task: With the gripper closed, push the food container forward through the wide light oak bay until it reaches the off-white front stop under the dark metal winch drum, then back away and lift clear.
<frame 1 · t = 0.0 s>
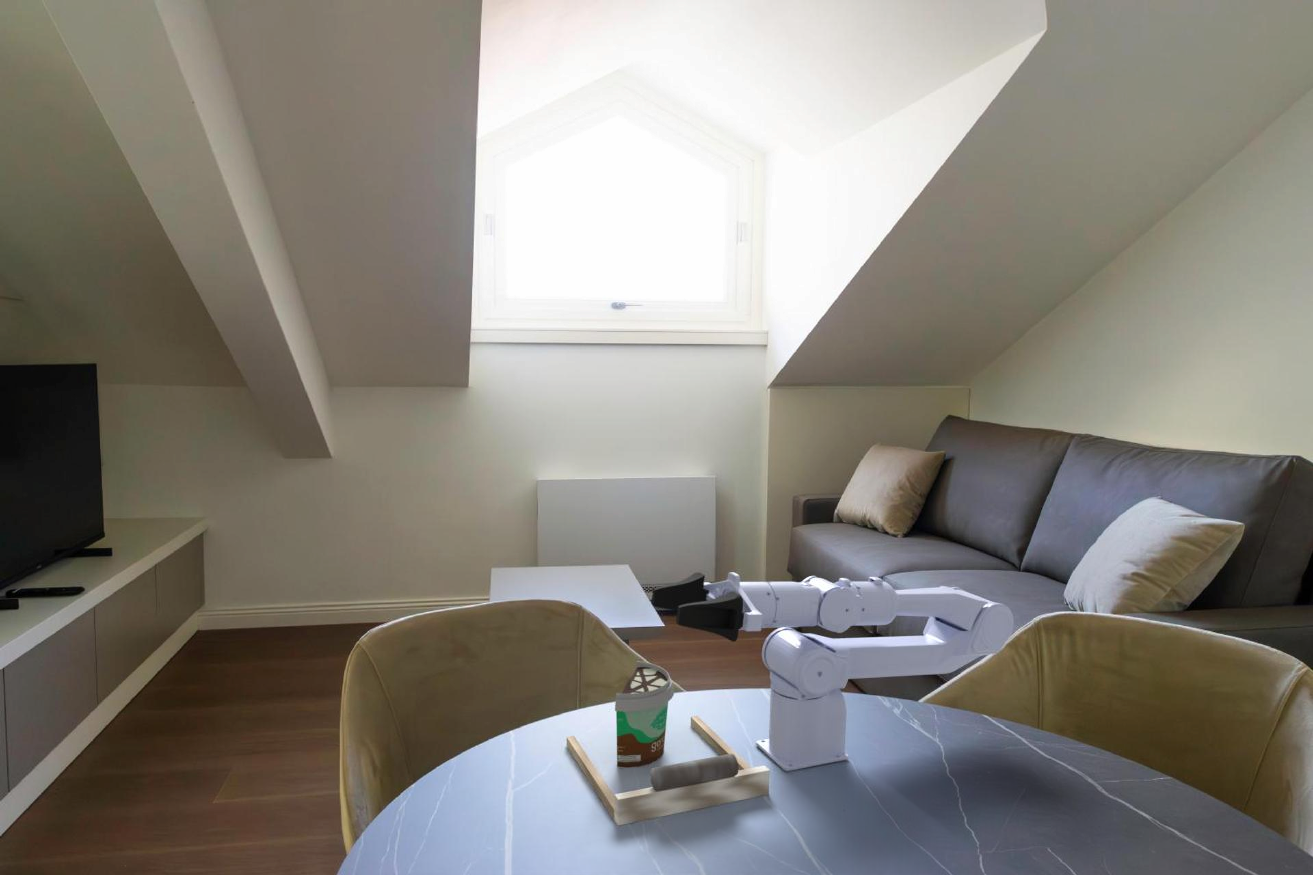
hand: (665, 606, 101), 22 cm above the table, tool horizontal, fingers open, 7 cm apart
food container: (648, 753, 110), on the table
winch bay: (660, 766, 107), on the table
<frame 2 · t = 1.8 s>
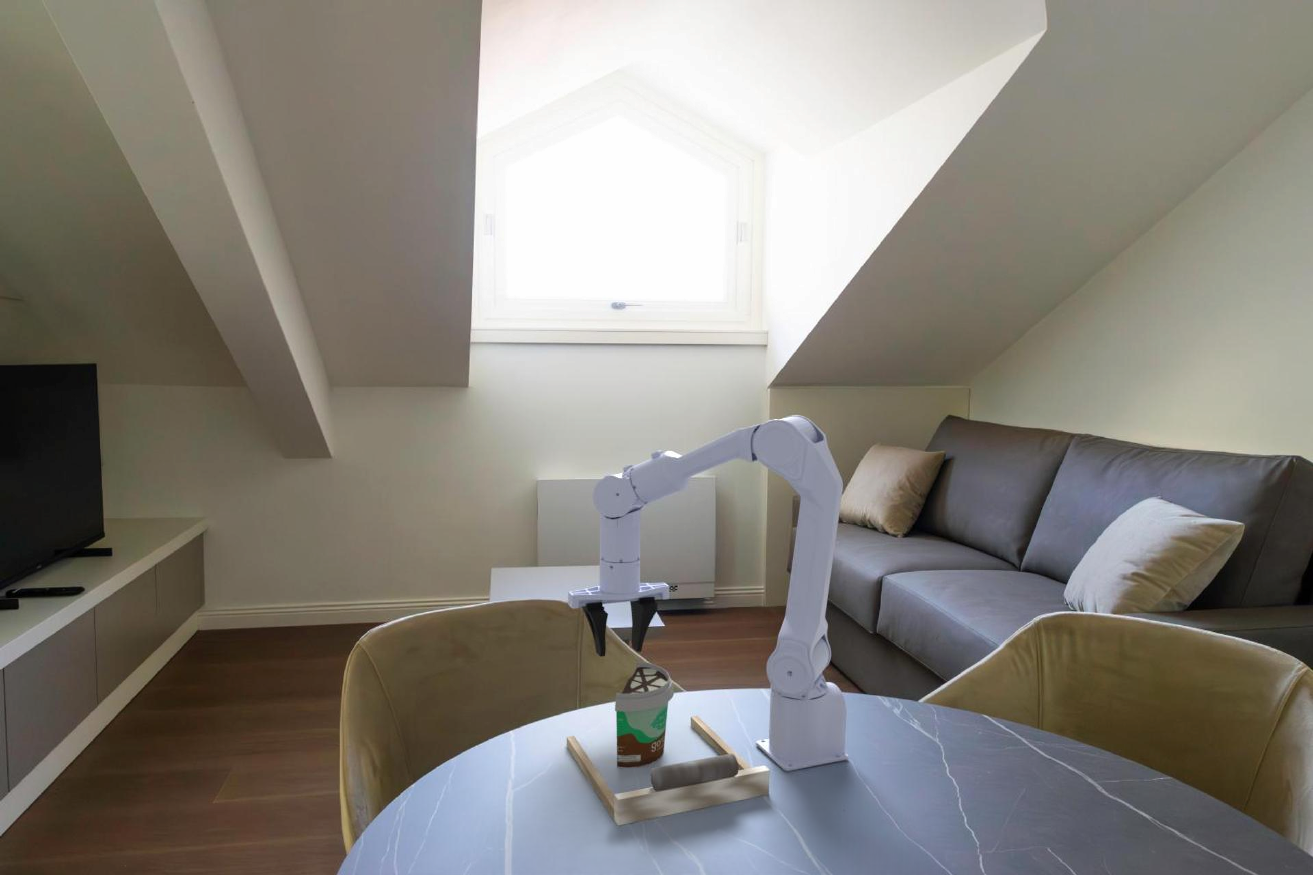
hand: (618, 651, 120), 9 cm above the table, tool pointing down, fingers open, 5 cm apart
nothing on the table moved.
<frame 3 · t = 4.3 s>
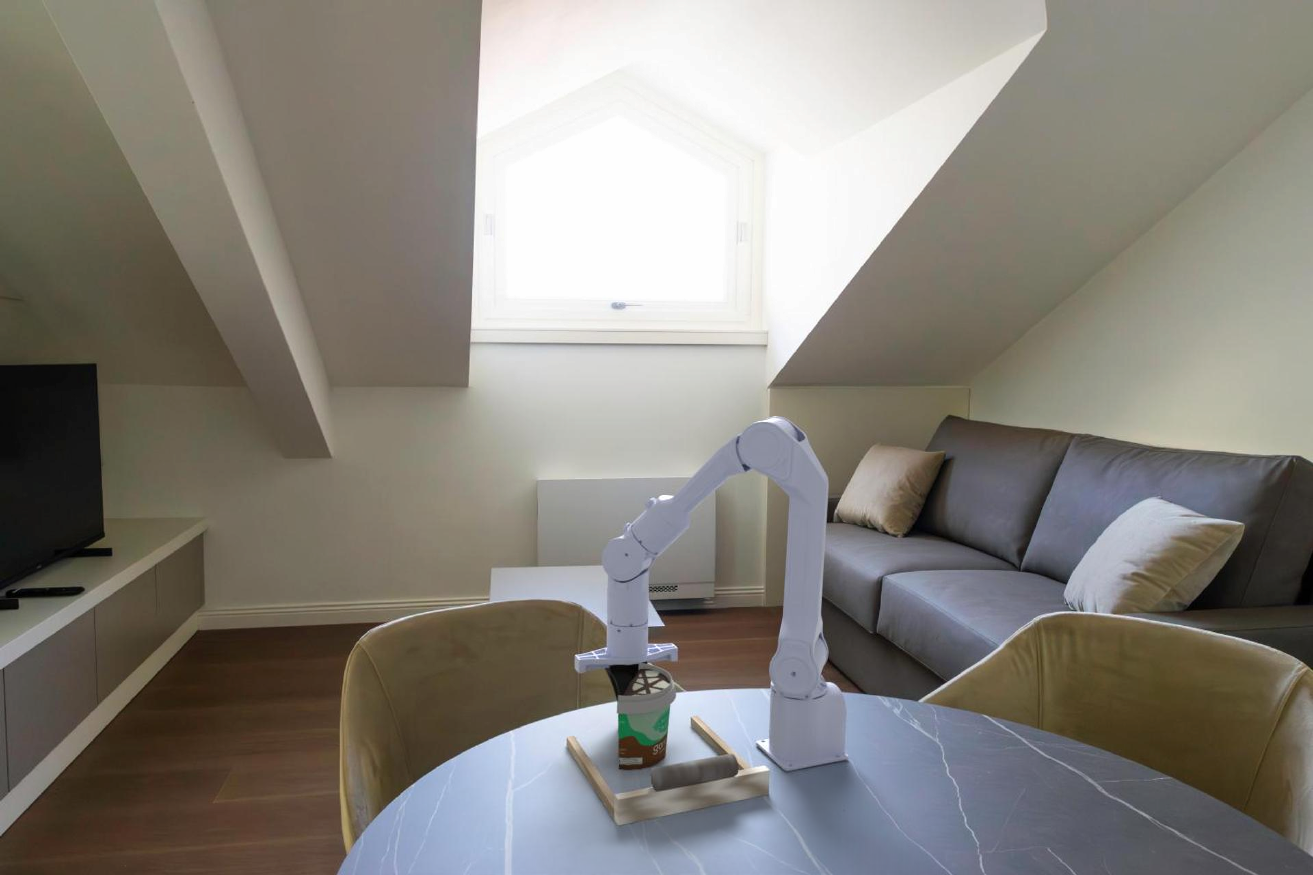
hand: (626, 714, 118), 1 cm above the table, tool pointing down, fingers closed
food container: (650, 756, 109), on the table, touching gripper
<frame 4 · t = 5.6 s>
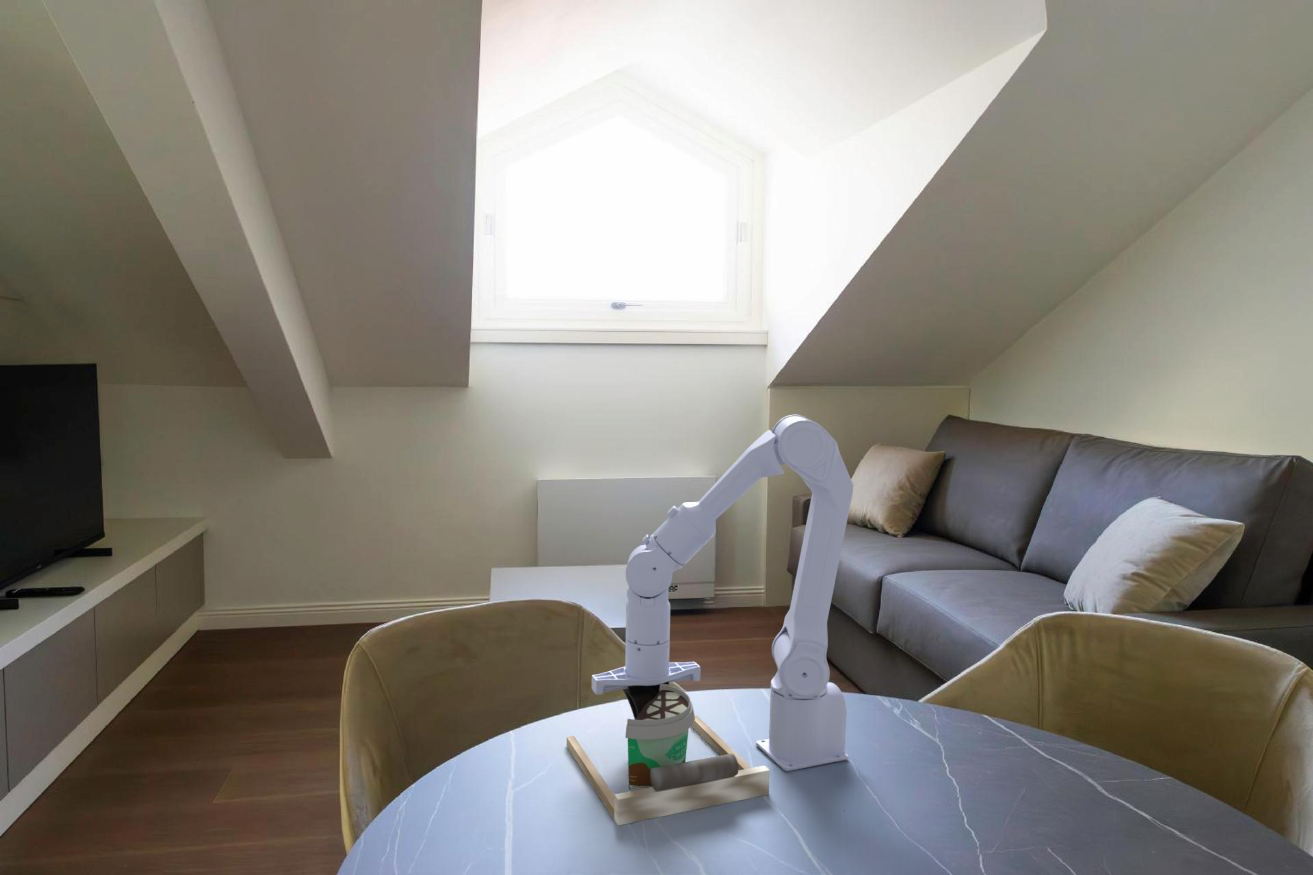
hand: (645, 738, 111), 1 cm above the table, tool pointing down, fingers closed
food container: (666, 784, 102), on the table, touching gripper
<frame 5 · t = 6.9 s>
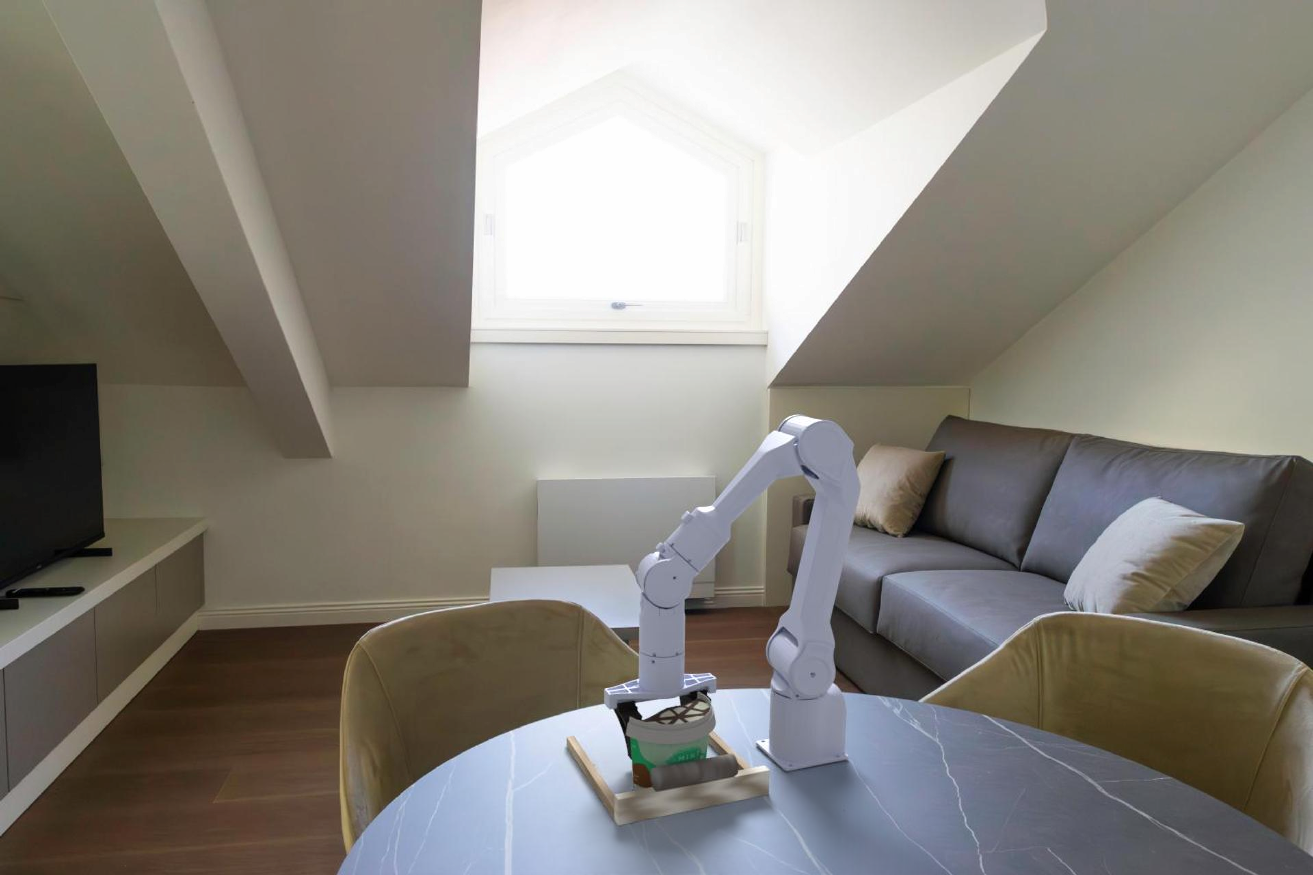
hand: (660, 753, 107), 1 cm above the table, tool pointing down, fingers open, 7 cm apart
food container: (680, 794, 100), on the table, touching gripper, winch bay
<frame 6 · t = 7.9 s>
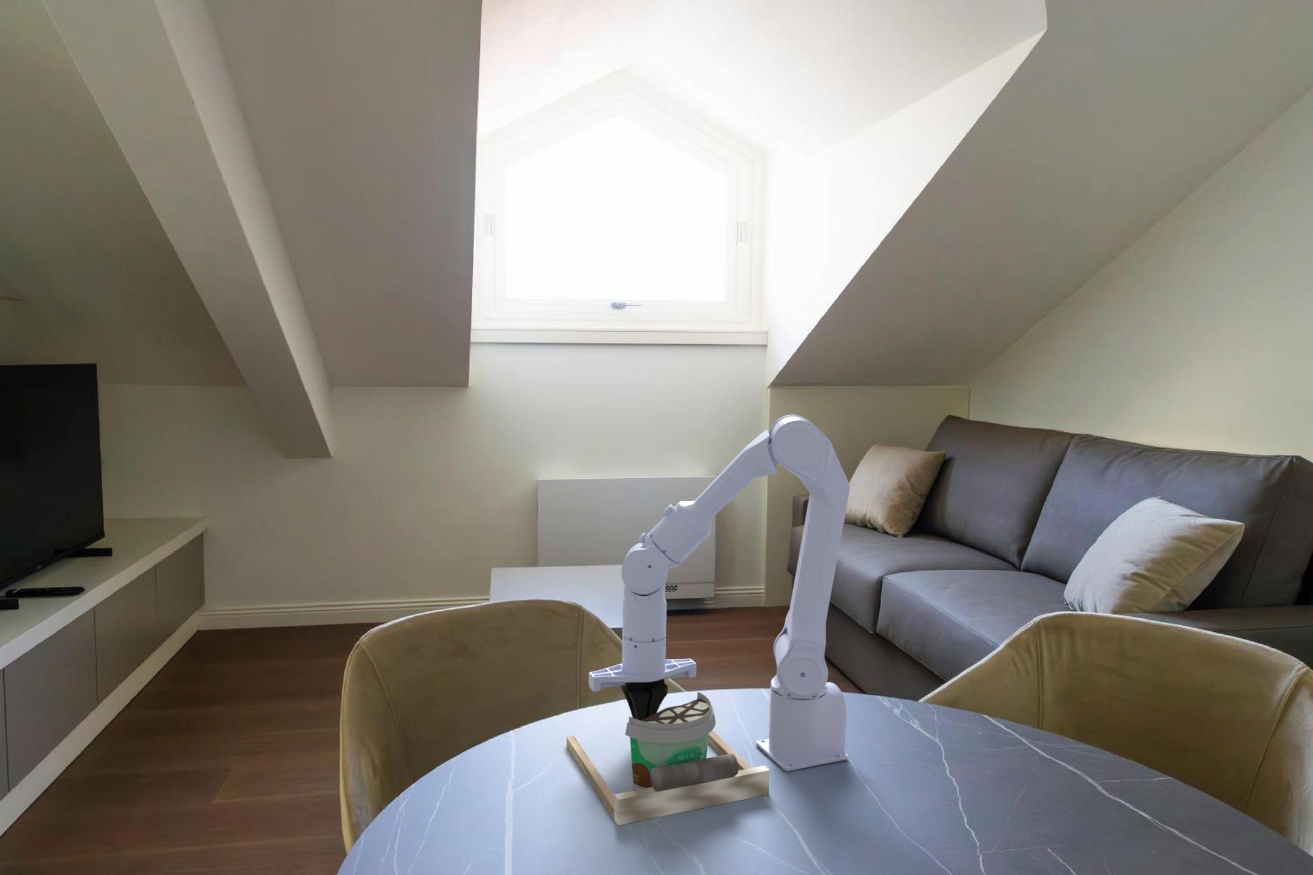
hand: (642, 734, 112), 1 cm above the table, tool pointing down, fingers closed
food container: (680, 794, 100), on the table
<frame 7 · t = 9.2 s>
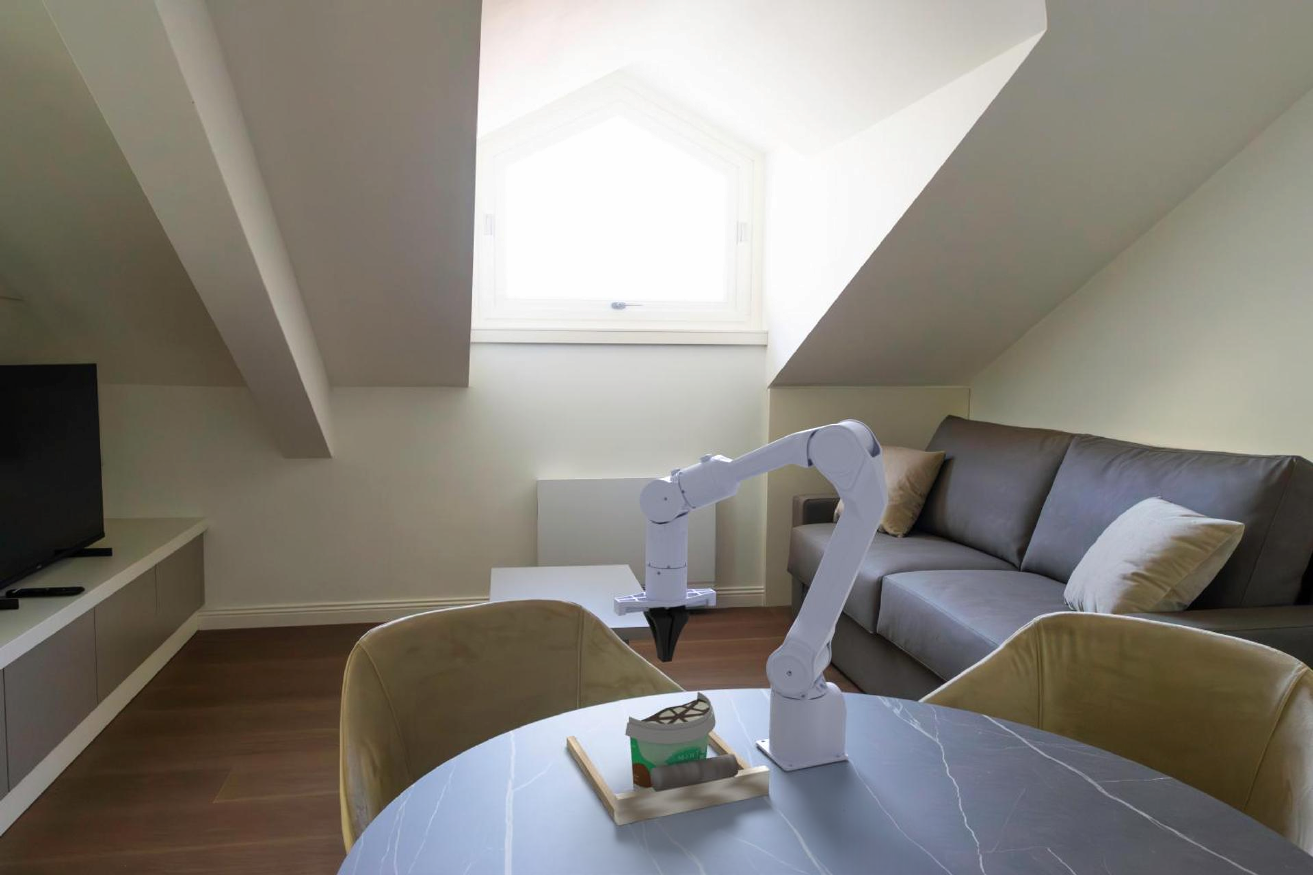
hand: (664, 659, 118), 9 cm above the table, tool pointing down, fingers closed
nothing on the table moved.
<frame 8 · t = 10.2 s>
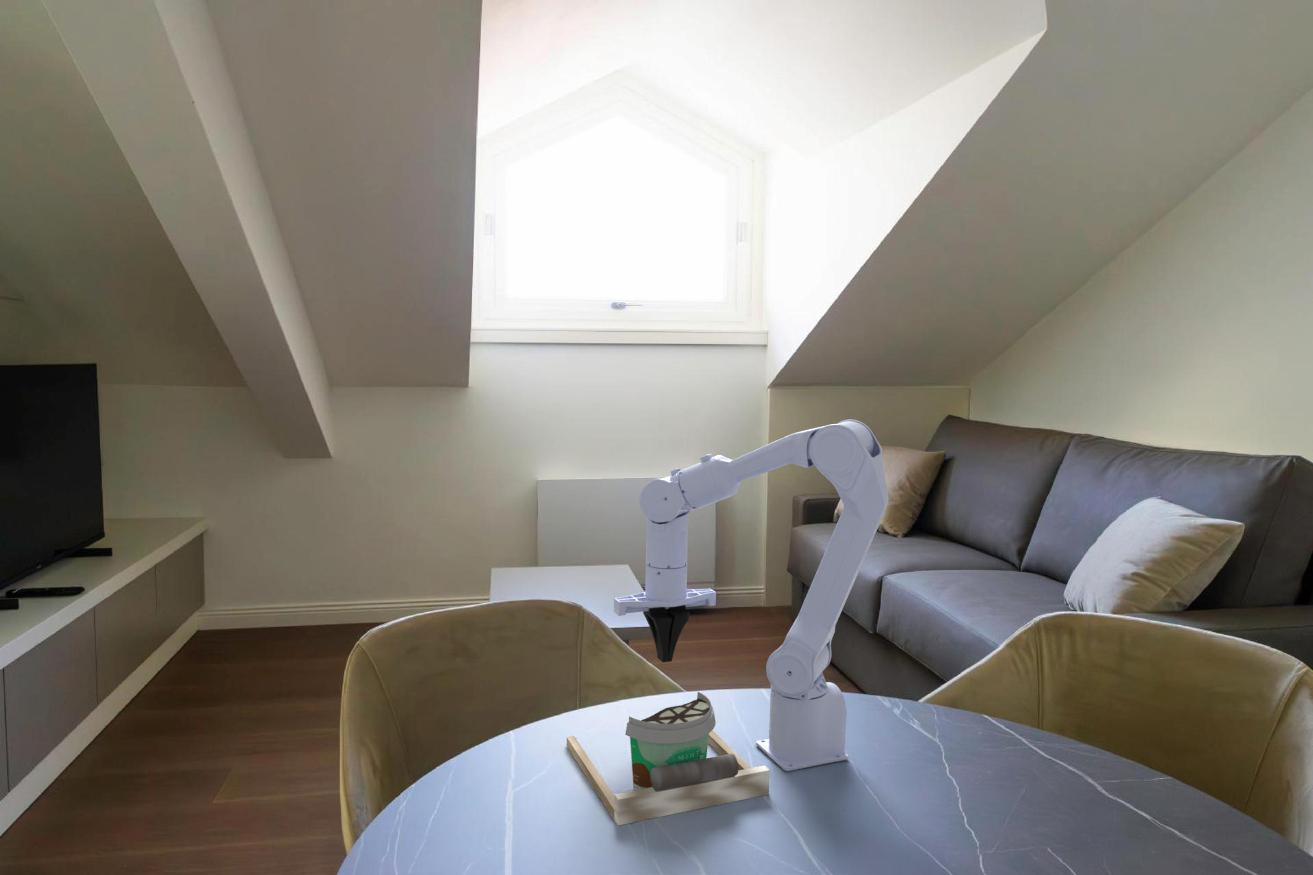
hand: (664, 659, 118), 9 cm above the table, tool pointing down, fingers closed
nothing on the table moved.
at the end: food container inside the target area (2.2 cm from its centre), on the table; food container moved 10.7 cm from its start; food container tilted 0° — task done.
